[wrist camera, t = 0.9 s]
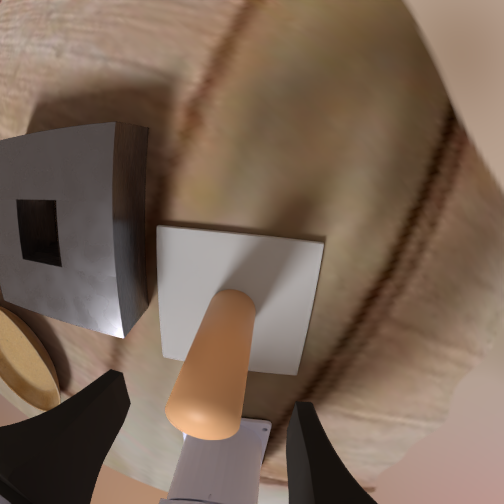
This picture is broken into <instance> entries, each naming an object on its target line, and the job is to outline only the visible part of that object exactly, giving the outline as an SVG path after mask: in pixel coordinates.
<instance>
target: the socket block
mask: <svg viewBox="0 0 504 504" xmlns="http://www.w3.org/2000/svg"><path fill="white" fill-rule="evenodd" d="M148 129H149V128H148V127H142V126H137V125H132V124H126V123H120V122H108V123H97V124H88V125H80V126H73V127H66V128H59V129H53V130H47V131H42V132H36V133H31V134H26V135H22V136H17V137H13V138H8V139H4V140H0V286H1V290H2V294H3V298H4V300H5V301H7V302H10V303H12V304H15V305H17V306H20V307H23V308H25V309H28V310H31V311H34V312H36V313H39V314H42V315H45V316H48V317H51V318H54V319H57V320H60V321H63V322H67V323H70V324H73V325H76V326H80V327H83V328H87V329H90V330H94V331H97V332H101V333H105V334H109V335H113V336H117V337H121V338H125V337H126V335H127V334H128V333H129V331H130V330H131V329H132V327H133V326H134V325H135V324H136V322H137V321H138V320H139V318H140V317H141V316H142V315H143V313H144V312H145V311H146V309H147V308H148V297H147V281H146V260H145V178H146V157H147V142H148ZM54 200H56V208H57V224H58V236H59V242H57V239H56V228H55V214H54Z"/></svg>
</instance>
